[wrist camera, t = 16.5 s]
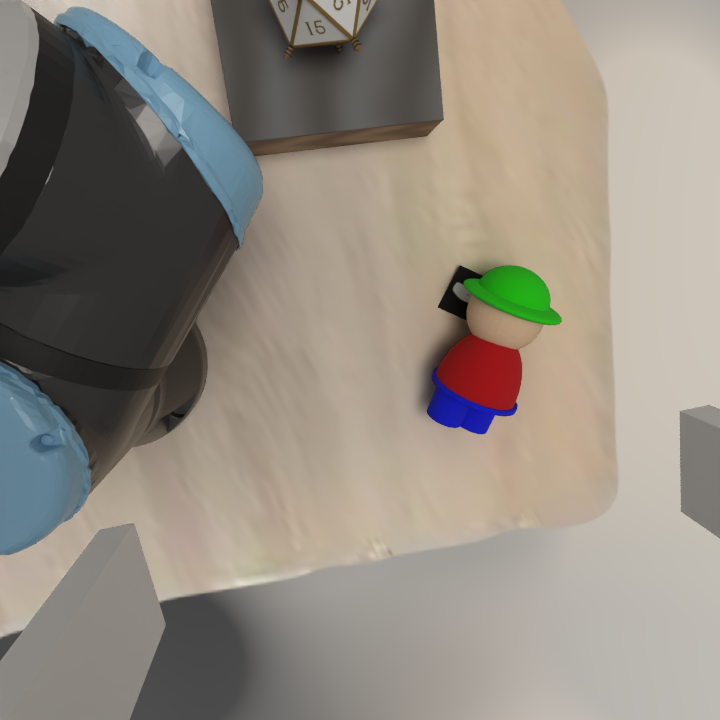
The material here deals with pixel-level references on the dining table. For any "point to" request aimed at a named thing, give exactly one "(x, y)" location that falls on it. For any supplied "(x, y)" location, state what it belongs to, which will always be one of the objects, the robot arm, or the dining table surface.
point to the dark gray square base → (330, 79)
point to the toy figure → (488, 344)
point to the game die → (321, 22)
